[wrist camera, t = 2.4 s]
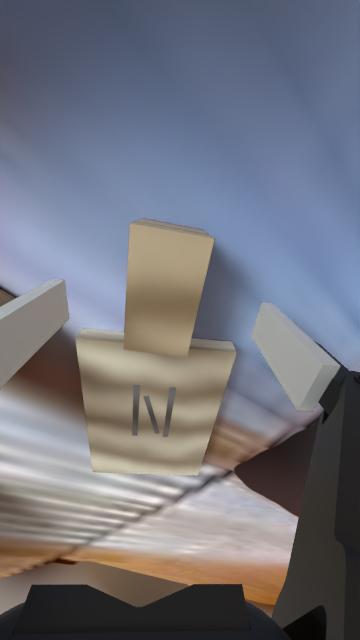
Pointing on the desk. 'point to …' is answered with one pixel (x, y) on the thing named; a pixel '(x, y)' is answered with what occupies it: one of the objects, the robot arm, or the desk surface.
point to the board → (150, 403)
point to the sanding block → (164, 286)
